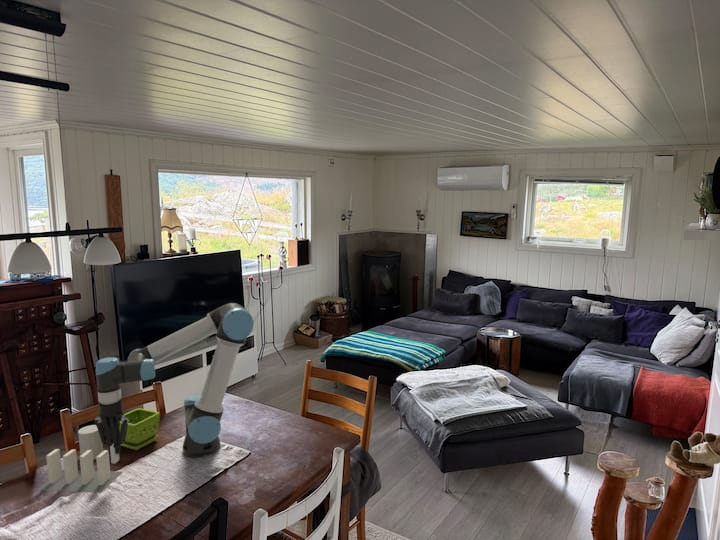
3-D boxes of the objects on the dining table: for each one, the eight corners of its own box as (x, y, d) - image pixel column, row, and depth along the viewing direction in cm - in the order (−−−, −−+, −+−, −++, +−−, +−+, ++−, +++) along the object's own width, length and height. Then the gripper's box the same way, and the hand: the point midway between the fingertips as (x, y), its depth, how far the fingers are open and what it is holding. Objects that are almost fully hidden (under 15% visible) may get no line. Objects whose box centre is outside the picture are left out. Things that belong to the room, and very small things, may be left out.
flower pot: (140, 433, 222) (138, 407, 221) (163, 439, 216) (161, 412, 215) (113, 447, 210) (110, 419, 208) (136, 454, 204) (133, 425, 202)
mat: (123, 472, 190) (123, 471, 190) (101, 493, 176) (101, 492, 176) (62, 470, 192) (62, 469, 192) (36, 491, 178) (35, 490, 178)
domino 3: (94, 477, 186) (92, 449, 185) (86, 484, 181) (83, 456, 180) (90, 477, 186) (88, 449, 185) (82, 484, 181) (79, 456, 180)
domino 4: (110, 477, 186) (108, 450, 184) (102, 485, 181) (100, 457, 179) (106, 477, 186) (104, 450, 184) (98, 485, 181) (96, 457, 179)
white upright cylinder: (93, 462, 198) (90, 434, 196) (76, 461, 199) (73, 433, 198) (107, 452, 206) (105, 425, 204) (90, 451, 207) (88, 424, 206)
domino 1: (62, 476, 187) (59, 449, 186) (53, 483, 182) (50, 455, 181) (58, 476, 187) (55, 448, 186) (49, 483, 182) (46, 455, 181)
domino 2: (78, 476, 187) (75, 449, 185) (69, 484, 182) (66, 456, 180) (74, 476, 187) (71, 449, 185) (65, 484, 182) (62, 456, 180)
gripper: (132, 396, 182) (137, 456, 185) (99, 396, 183) (104, 455, 186) (121, 405, 174) (126, 467, 177) (86, 404, 175) (92, 466, 178)
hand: (115, 461), depth 182 cm, fingers closed
